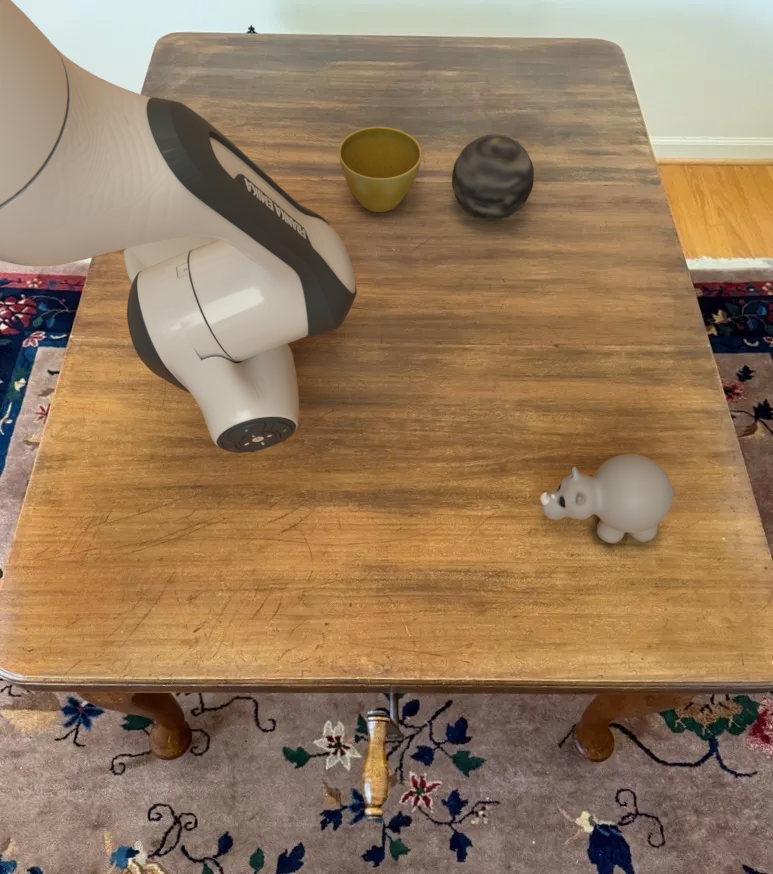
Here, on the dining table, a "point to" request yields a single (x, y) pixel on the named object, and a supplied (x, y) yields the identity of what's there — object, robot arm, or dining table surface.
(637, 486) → the chubby cartoon animal
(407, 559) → the dining table surface
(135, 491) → the dining table surface
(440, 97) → the dining table surface
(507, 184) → the decorative stone
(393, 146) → the flower pot
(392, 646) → the dining table surface
